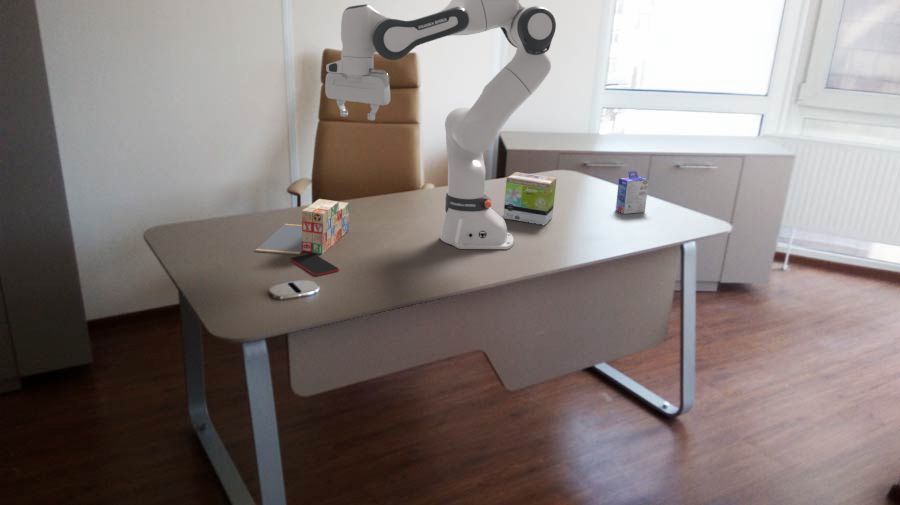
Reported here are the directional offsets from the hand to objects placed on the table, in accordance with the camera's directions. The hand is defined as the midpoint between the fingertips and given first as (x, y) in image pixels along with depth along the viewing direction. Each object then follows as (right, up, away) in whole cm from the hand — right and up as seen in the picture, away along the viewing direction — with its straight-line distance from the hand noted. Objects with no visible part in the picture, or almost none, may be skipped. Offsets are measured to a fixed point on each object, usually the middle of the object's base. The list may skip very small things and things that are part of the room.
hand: (357, 118), depth 183 cm
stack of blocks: (-11, -35, +9) cm, 38 cm away
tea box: (+53, -27, +39) cm, 71 cm away
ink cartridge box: (+91, -23, +53) cm, 108 cm away
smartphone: (-11, -42, -8) cm, 44 cm away
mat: (-21, -34, +10) cm, 41 cm away
